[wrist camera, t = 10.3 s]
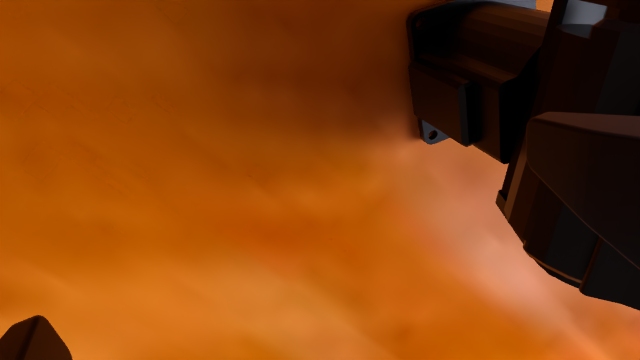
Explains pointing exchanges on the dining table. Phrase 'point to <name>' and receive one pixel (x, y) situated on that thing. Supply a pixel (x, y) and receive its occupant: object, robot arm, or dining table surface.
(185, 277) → the dining table surface
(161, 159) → the dining table surface
